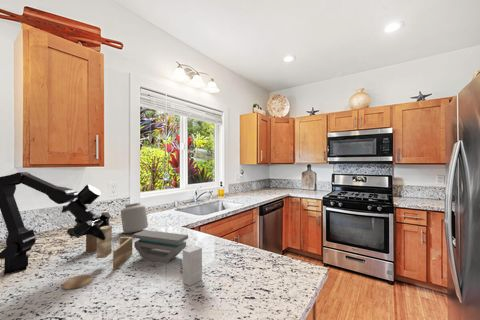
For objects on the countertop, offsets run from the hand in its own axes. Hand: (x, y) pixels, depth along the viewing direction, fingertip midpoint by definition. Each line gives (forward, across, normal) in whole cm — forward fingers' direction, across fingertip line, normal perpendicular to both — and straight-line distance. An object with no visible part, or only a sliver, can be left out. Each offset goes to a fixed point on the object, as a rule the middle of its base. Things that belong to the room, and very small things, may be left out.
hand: (107, 237), depth 94 cm
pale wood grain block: (+4, 0, -6) cm, 8 cm away
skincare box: (+36, +16, +18) cm, 43 cm away
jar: (+2, -50, -13) cm, 52 cm away
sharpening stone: (+23, -6, +6) cm, 25 cm away
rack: (+10, -5, -7) cm, 13 cm away
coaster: (+6, +13, -12) cm, 18 cm away
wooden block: (-2, -22, -19) cm, 29 cm away
